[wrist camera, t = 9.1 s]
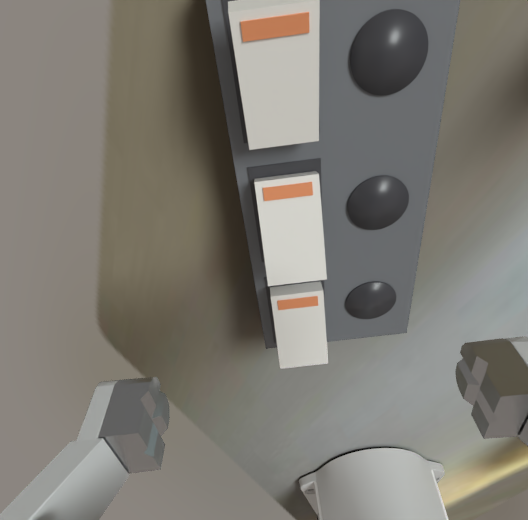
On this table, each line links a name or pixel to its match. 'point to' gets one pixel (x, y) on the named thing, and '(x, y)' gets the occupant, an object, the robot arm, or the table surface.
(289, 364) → the rocker
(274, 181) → the rocker middle
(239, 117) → the grey rocker switch panel
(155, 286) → the table surface
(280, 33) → the rocker
